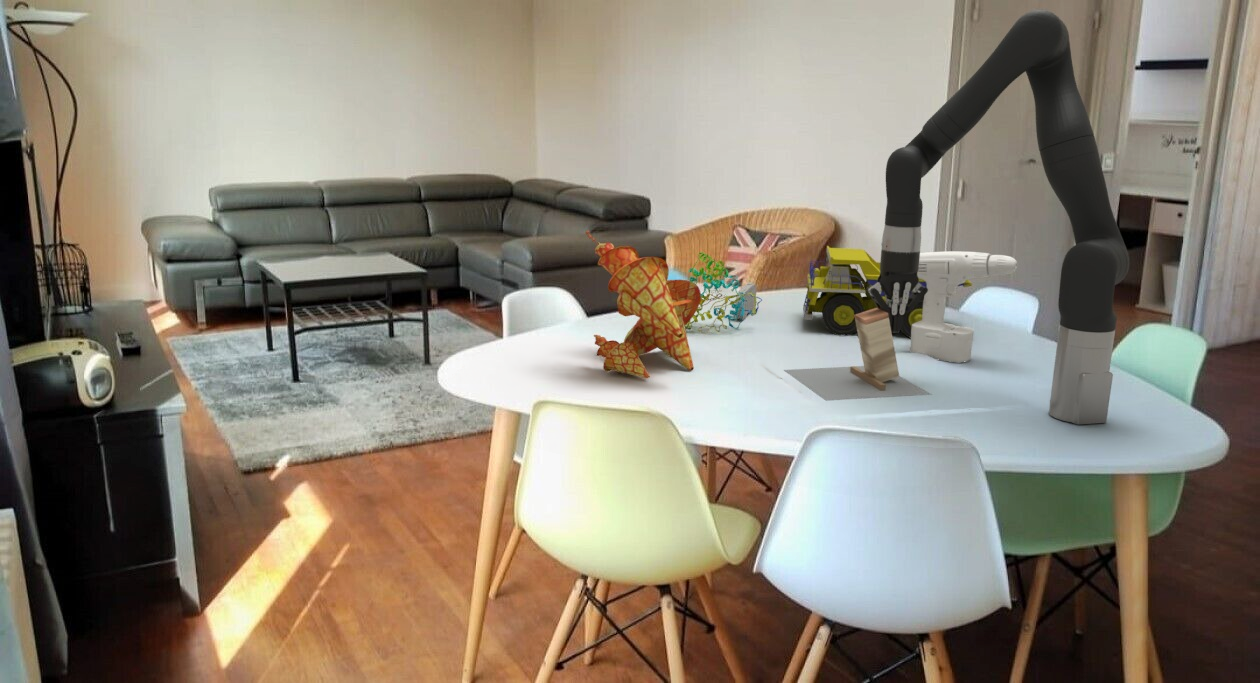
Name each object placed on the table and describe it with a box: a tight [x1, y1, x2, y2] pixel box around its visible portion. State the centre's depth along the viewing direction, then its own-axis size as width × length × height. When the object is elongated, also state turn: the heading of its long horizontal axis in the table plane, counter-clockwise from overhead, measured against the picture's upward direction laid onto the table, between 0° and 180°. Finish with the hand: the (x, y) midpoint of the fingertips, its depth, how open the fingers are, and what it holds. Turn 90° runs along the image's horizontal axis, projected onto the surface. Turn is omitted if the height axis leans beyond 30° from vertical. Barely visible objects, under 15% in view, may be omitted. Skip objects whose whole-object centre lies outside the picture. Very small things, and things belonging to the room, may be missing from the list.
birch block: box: [854, 308, 900, 382], centre depth 192 cm, size 5×5×14 cm
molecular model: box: [685, 252, 763, 334], centre depth 239 cm, size 23×22×15 cm
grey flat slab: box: [734, 281, 757, 321], centre depth 258 cm, size 20×2×8 cm, turn 162°
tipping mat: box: [783, 365, 932, 401], centre depth 193 cm, size 22×22×2 cm
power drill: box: [909, 250, 1018, 363], centre depth 213 cm, size 8×24×25 cm, turn 51°
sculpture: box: [584, 230, 702, 379], centre depth 205 cm, size 33×28×35 cm
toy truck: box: [802, 245, 973, 339], centre depth 243 cm, size 24×40×20 cm, turn 81°
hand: (893, 331), depth 192 cm, fingers closed
